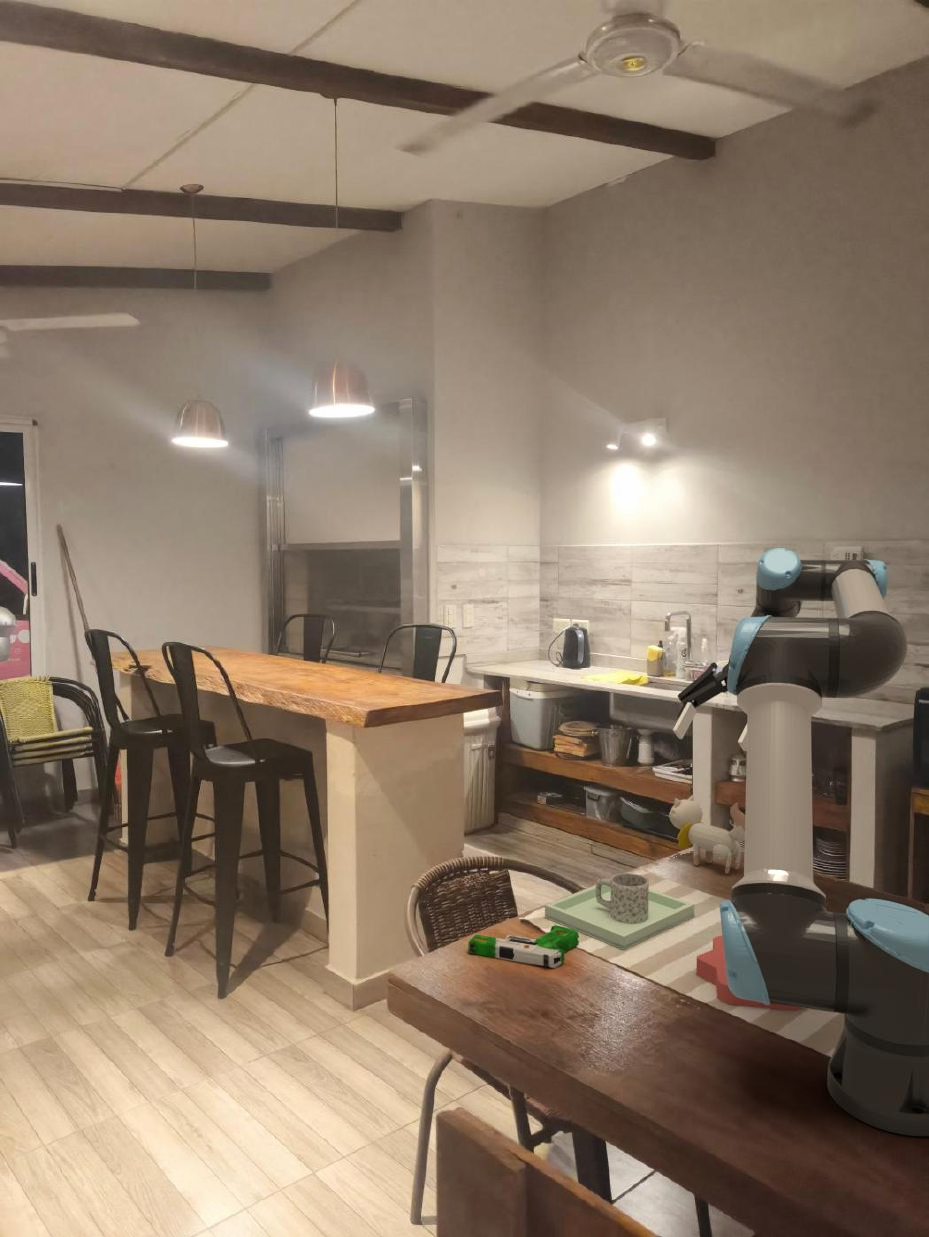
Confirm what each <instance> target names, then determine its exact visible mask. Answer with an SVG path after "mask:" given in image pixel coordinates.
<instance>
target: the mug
mask: <svg viewBox="0 0 929 1237" xmlns="http://www.w3.org/2000/svg"><path fill="white" fill-rule="evenodd" d="M649 881H650V880H649V879H648V878H647V877H646V876H643V875H641V874H637V873H626V872H625V873H617V874H614V875H612V876H611V878H598V879H597V881H596V884H595V885H596V900H597V902H598V903H599V904H601V905H603V906H604V907H606V908H608V909H611V917H612V919H614V920H616V921H618V922H621V923H626V924H638V923H642V922H645V921H647V919H648V896H649V889H650V888H649V886H650V884H649ZM602 885H606V886H610V887H611V901H606V900H604V899H602V896H601V887H602Z"/></svg>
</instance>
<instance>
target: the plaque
mask: <svg viewBox="0 0 929 1237" xmlns="http://www.w3.org/2000/svg"><path fill="white" fill-rule="evenodd" d="M695 974H696V975H697V976H698V977H700V978H702V979H703V980H706V981H707V982H709V983H711V984H713V985H714V986H715V989H716V996H717V998H718V1000H719V1001H721V1002H722V1003H724V1004H728V1005H732V1006H743V1007H751V1008H754V1007H755V1008H763V1009H773V1010H774V1009H776V1010H786V1011H797V1010H800V1009H802V1008H800V1007H793V1006H786V1005H778V1004H770V1005H765V1004H764V1003H761V1002H756V1001H751V1000H745V999H741V998H738V997H736V996H735V995H734V994H733V993H732V992H731V991H730V989H729V987H728V984H727V977H726V967H725V957H724V947H723V937H722V935H718V936H714V937H713V938H712V949H711V950H709V951H706V952H704V953H700V954H699V955H697V956H696V972H695Z"/></svg>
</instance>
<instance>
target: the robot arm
mask: <svg viewBox="0 0 929 1237" xmlns="http://www.w3.org/2000/svg"><path fill="white" fill-rule="evenodd" d="M887 569H888V568H887V565H886V563H885V562H884V561H882V560H873V559H867V558H863V559H800V557H799V555H798V554H797V553H796V552H795V551H794V550H790V549H788V548H786V547H785V548H784V547H776V548H772V549H769V550H767V551H765V552H764V553H763V554H762V555H761V556H760V557H759V560H758V562H757V569H756V570H757V571H756V574H755V575H756V576H755V580H756V582H755V583H756V587H755V588H756V593H755V607H754V609H753V611H752V613H751V615H750V616H748V617H744V618H742V619H741V620H740V621H739V622H738V623H737V625H736V627H735V630H734V635H733V638H732V644H731V648H730V653H729V657H728V658H729V659H728V662H727V664H726V665H725V666H718V664H717V663H716V662H711V663H710V665H708V668H707V669H706V670H705V671H704V672H703V673H701V674H700V675H699V676H698V677H697V678H696V679H694V681H692V682H691V683H690V684H689V685H687V686H686V687H685V688H684V689H683V690H682V691H680V693H678V694H677V698H678V699H679V701H680V703H681V704H682V705H681V708H680V710H679V711H678V713H677V717H678V719H677V721H676V723H675V726H674V727H673V728H672V731H673V733H674V734H675V736H676V737H677V738H678V740H679V739H680V740H683V738H684V737H685V734H686V733H687V731H688V729H689V728H690V725H691V724H692V722H693V719H694V718H695V716H696V714H697V712H698V710H697V709H696V708H697V707H700V706H701V705H702V704H705V703H707V702H708V701H711V699H713V698H714V697H715V698H716V697H717V696H718V695H720V694H722V693H724V694H725V693H727V692H728V693H729V694H731V695H734V696H736V704H737V706H738V707H739V709H740V710H742V711H743V713H745V714H746V716H747V718H746V720H747V722H746V725H745V727H744V728H743V731H742V733H741V735H740V736H739V738H738V741H737V743H738V744H739V746H740V748H741V749H742V751H744V752H746V762H745V763H746V765H745V766H746V767H745V768H746V770H745V773H746V774H745V775H746V776H745V812H744V814H745V841H744V858H743V859H744V861H743V877H742V878H740V880H738V881H737V882H736V883H735V884H734V885H732V887H731V897H730V898H731V900H729V899H726V900H723V901H721V902H720V903H719V914H720V924H721V925H720V926H721V933H722V935H721V936H722V937H723V947H724V957H725V967H726V977H727V984H728V987H729V989H730V991H731V992H732V993H733V994H734V995H735V996H736V997H738V998H741V999H745V1000H751V1001H756V1002H761V1003H764V1004H765V1005H770V1004H778V1005H786V1006H793V1007H800V1008H801V1009H807V1010H815V1011H820V1012H821V1011H822V1012H829V1013H837V1014H844V1024H843V1025H844V1026H843V1029H842V1031H841V1033H840V1036H839V1039H838V1041H837V1043H836V1046H835V1048H834V1050H833V1053H832V1055H831V1057H830V1060H829V1061H828V1067H827V1086H826V1087H827V1090H828V1092H829V1095H830V1097H831V1098H832V1100H833V1101H834V1102H835V1103H836V1104H837V1105H838V1106H839V1108H841V1109H842V1110H843V1111H844V1112H846V1113H847V1114H849V1115H850V1116H852V1117H853V1118H856V1119H857V1120H859V1121H861V1122H863V1123H865V1124H868V1125H869V1126H872V1127H874V1128H877V1129H879V1130H883V1131H886V1132H890V1133H893V1134H898V1135H899V1134H900V1135H904V1136H912V1137H929V915H928V914H926V913H924V912H923V911H921V910H918V909H916V908H914V907H910V906H908V905H905V904H901V903H899V902H898V903H897V902H894V901H890V900H884V899H878V898H865V899H861V898H860V899H856V900H853V901H852V902H850V903H849V905H848V907H847V908H846V910H845V911H846V913H841V912H840V913H839V912H832V911H828V910H827V896H826V894H825V893H824V892H823V891H822V890H821V889H820V888H819V887H818V886H817V885H816V883H815V882H814V852H813V851H814V850H813V849H814V844H813V842H814V840H813V834H814V833H813V831H814V830H813V778H812V777H813V776H812V775H813V772H812V768H813V767H812V766H813V765H812V763H813V762H812V761H813V760H812V717H814V715H815V714H817V713H818V712H820V711H821V709H822V707H823V699H824V698H825V699H827V698H828V699H851V698H857V697H860V696H864V695H867V694H869V693H872V692H874V691H876V690H877V689H879V688H881V687H882V686H884V685H885V684H887V683H888V682H890V681H891V679H893V678H894V677H895V675H897V673H898V672H899V671H900V669H902V666H903V664H904V663H905V659H906V658H907V655H908V654H907V653H908V641H907V640H908V639H907V635H906V633H905V631H904V628H903V626H902V625H901V623H900V622H899V621H898V620H897V618H895V617H894V616H893V615H891V614H890V613H889V611H888V608H887V606H886V604H885V601H884V599H885V598H886V597H887V590H888V570H887ZM804 602H833V605H834V610H835V613H836V617H806V616H805V617H798V615H799V614H800V612H801V609H802V605H803V603H804ZM723 681H724V684H723V683H722V682H723Z"/></svg>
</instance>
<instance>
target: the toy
mask: <svg viewBox="0 0 929 1237" xmlns="http://www.w3.org/2000/svg"><path fill="white" fill-rule="evenodd" d="M673 802H674V804H673V805H672V807H671V809H670V811H669V814H668V815H669V820H670V822H671V824H672V825H673V826H674V827H675V828H676V829H679V830H680V831H679V832H678V834H677V841H678V849H679V850H687V849H689V847H691V846H692V845H693V847H692V848H693V850H692V853H693V854H692V855H693V856H692V863H693V865H694V866H696V867H698V866H699V865H700V856H701V854H700V853H701V850H700V849H702V850H705V858H704V859H705V862H706V863H707V864H711V863H712V862H713V858H715V859H717V860H718V861H725V860H726V862H725V863H726V864H725V868H724V869H725V870H724V873H725V874H726V875H727V874H729V873H730V870H731V865H732V864H731V863H732V857H735V862H734V869H735V870H736V871H737V870H739V868H740V866H741V861H742V860H741V859H742V852H743V850H742V849H741V845H740V843H739V841H740V842H745V813H744V812H742V811H741V810H740V809H739V802H735V803H734V804H733V805H731V806H730V808H729V809H730V810H729V814H730V816H731V817H730V818H732V820H733V828H732V829H731V830H730V831H729V830H727V829H724V828H721V827H717V826H715V825H710V824H707V823H704V822H703V821H702V819H703V808H702V807H701V806H700V805H699V804H698V802H696V801H695V800H694V794H691V796H689V798H687V799H685V798H683V799H678V798H677V797H675V798H674V801H673Z"/></svg>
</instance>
